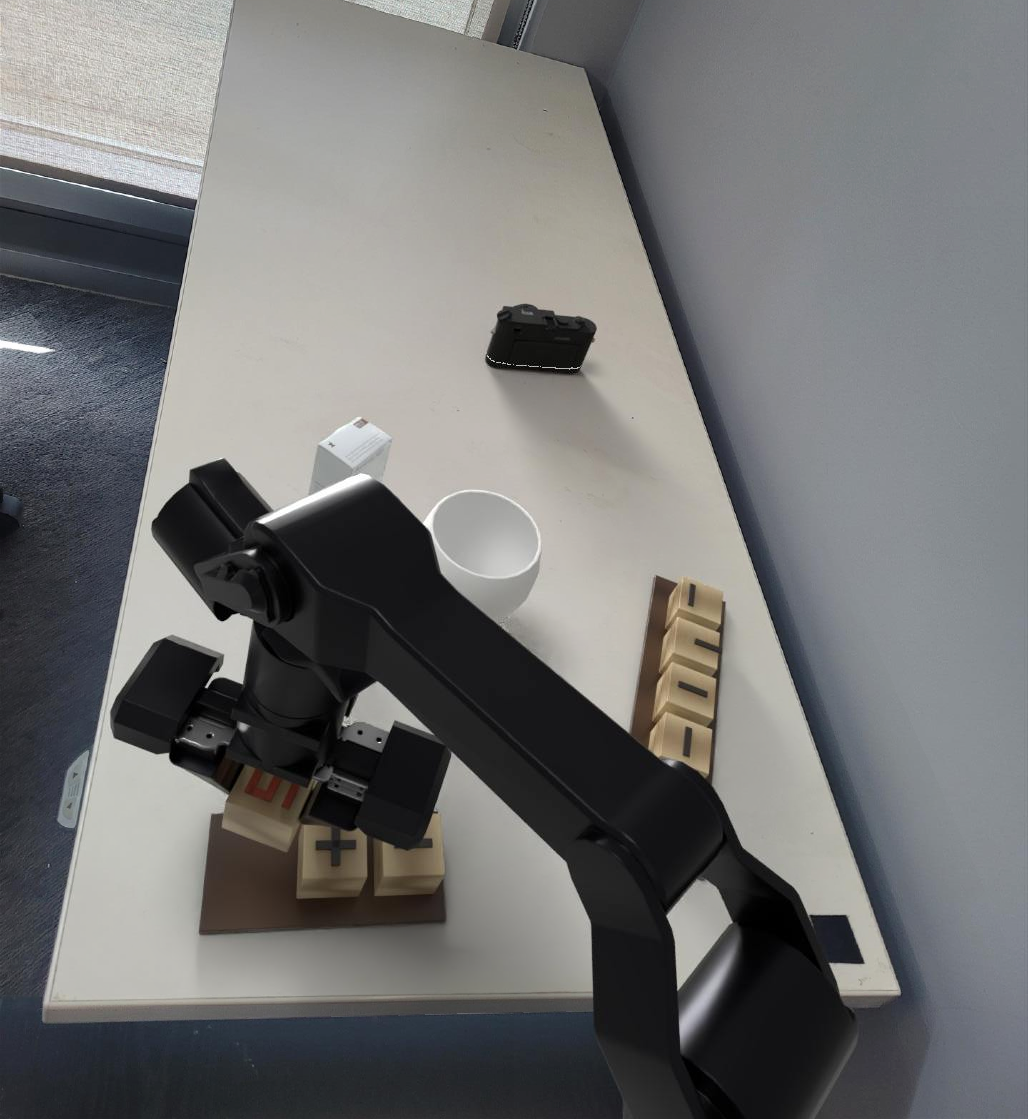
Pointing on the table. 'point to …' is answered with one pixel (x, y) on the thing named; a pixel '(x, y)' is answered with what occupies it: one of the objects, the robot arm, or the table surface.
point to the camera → (539, 340)
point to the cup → (486, 549)
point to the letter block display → (680, 673)
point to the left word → (320, 881)
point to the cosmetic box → (350, 454)
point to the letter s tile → (265, 808)
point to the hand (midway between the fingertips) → (271, 803)
